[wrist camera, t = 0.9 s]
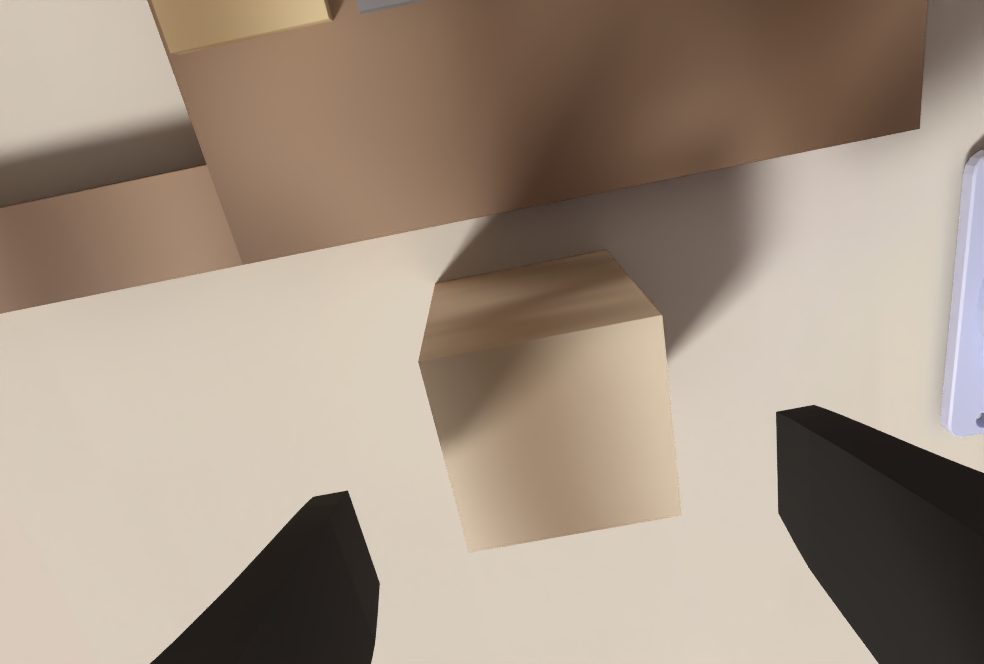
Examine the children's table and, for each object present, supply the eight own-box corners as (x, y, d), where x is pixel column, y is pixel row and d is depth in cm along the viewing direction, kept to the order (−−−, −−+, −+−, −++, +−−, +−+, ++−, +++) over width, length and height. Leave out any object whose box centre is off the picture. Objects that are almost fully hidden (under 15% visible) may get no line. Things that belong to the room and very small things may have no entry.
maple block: (605, 249, 15) (662, 314, 11) (625, 401, 17) (681, 515, 12) (434, 282, 16) (418, 361, 11) (470, 429, 17) (468, 552, 13)
